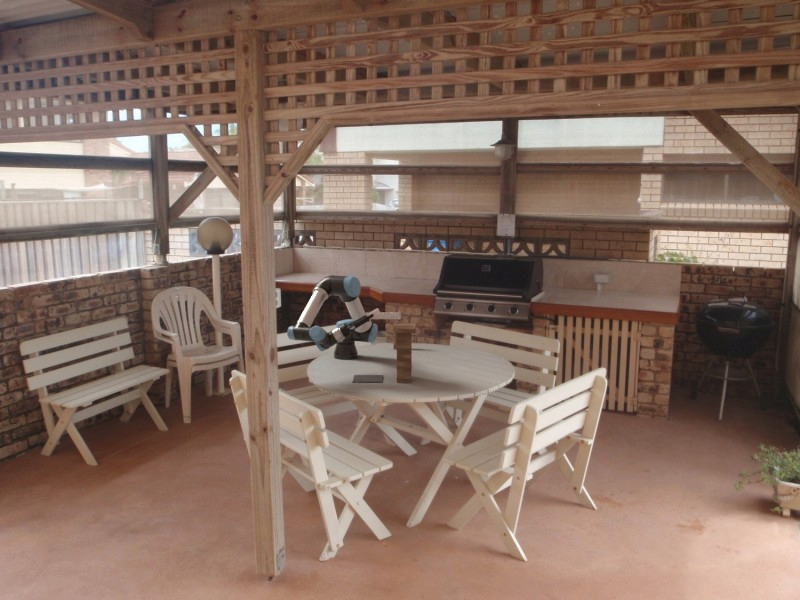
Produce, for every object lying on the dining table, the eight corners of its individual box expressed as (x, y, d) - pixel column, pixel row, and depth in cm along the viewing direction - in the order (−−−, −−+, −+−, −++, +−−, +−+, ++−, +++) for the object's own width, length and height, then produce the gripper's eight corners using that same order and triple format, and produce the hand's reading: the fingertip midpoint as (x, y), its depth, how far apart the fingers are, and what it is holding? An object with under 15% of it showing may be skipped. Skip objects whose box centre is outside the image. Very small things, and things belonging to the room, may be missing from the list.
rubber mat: (354, 375, 388) (354, 374, 388) (382, 375, 388) (382, 374, 388) (352, 382, 374) (352, 381, 374) (381, 382, 374) (381, 381, 374)
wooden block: (409, 349, 452) (409, 322, 449) (393, 349, 453) (393, 322, 450) (410, 348, 455) (410, 321, 452) (394, 347, 457) (394, 321, 454)
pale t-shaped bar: (366, 317, 378) (366, 312, 378) (400, 317, 378) (400, 311, 378) (365, 319, 373) (365, 314, 372) (400, 319, 372) (400, 313, 372)
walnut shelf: (393, 375, 389) (393, 323, 384) (414, 375, 389) (415, 323, 384) (392, 383, 373) (392, 328, 368) (415, 383, 373) (415, 329, 368)
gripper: (347, 334, 386) (382, 313, 384) (344, 341, 369) (381, 319, 367) (340, 323, 385) (375, 302, 383) (337, 329, 368) (374, 307, 366)
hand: (378, 310), depth 375 cm, fingers closed on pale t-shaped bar, 4 cm apart
